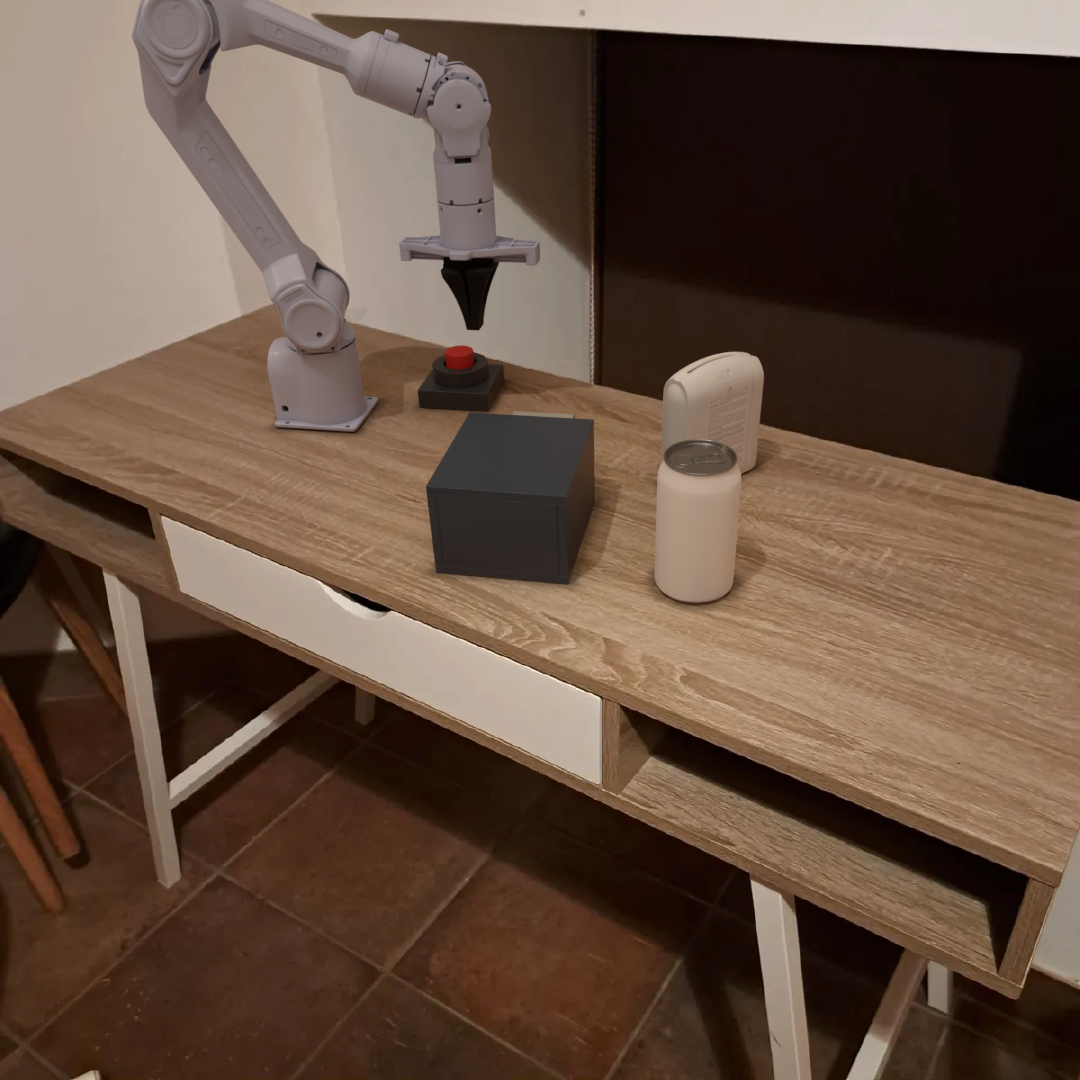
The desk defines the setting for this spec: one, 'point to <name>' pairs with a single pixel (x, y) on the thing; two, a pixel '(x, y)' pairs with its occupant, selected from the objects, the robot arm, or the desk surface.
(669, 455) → the can
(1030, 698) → the desk surface
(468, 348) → the button
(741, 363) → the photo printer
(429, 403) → the control block
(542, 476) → the cabinet
